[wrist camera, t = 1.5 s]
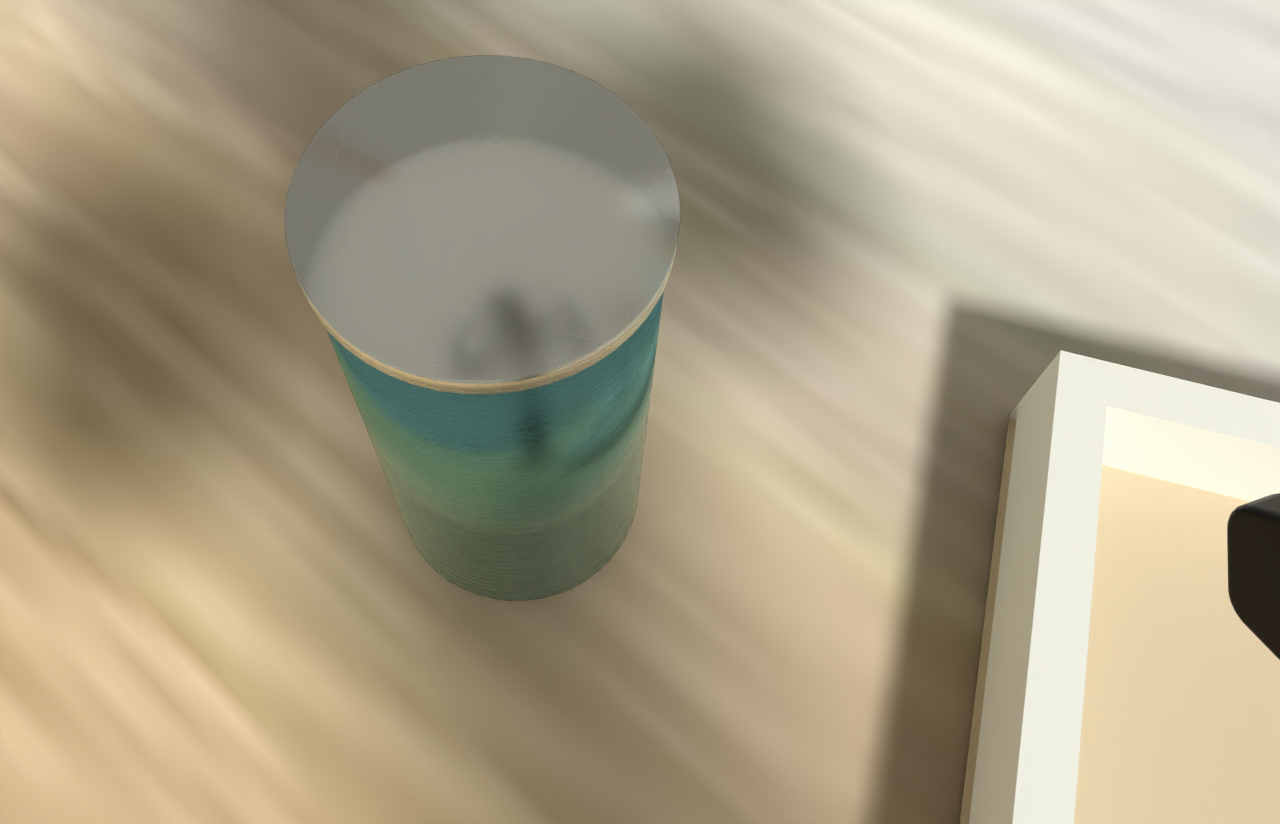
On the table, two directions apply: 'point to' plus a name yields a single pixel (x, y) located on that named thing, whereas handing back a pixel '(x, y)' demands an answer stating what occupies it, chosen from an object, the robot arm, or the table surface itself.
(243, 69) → the table surface
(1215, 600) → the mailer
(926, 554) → the table surface
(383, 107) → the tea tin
